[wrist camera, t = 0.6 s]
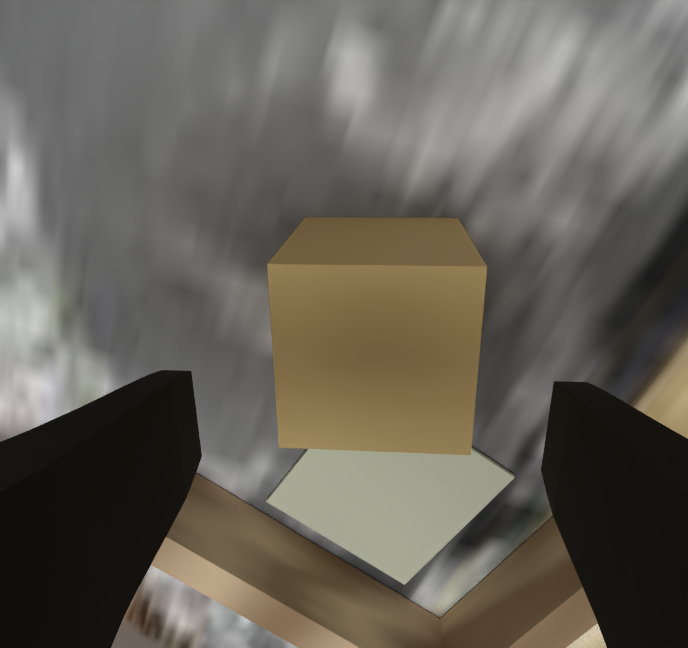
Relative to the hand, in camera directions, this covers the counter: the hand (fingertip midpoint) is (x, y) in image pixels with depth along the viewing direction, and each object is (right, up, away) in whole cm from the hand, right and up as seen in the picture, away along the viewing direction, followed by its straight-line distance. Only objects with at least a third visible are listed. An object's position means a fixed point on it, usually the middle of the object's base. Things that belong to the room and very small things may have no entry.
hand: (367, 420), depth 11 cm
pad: (+1, -5, +11) cm, 12 cm away
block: (+1, +3, +8) cm, 9 cm away
